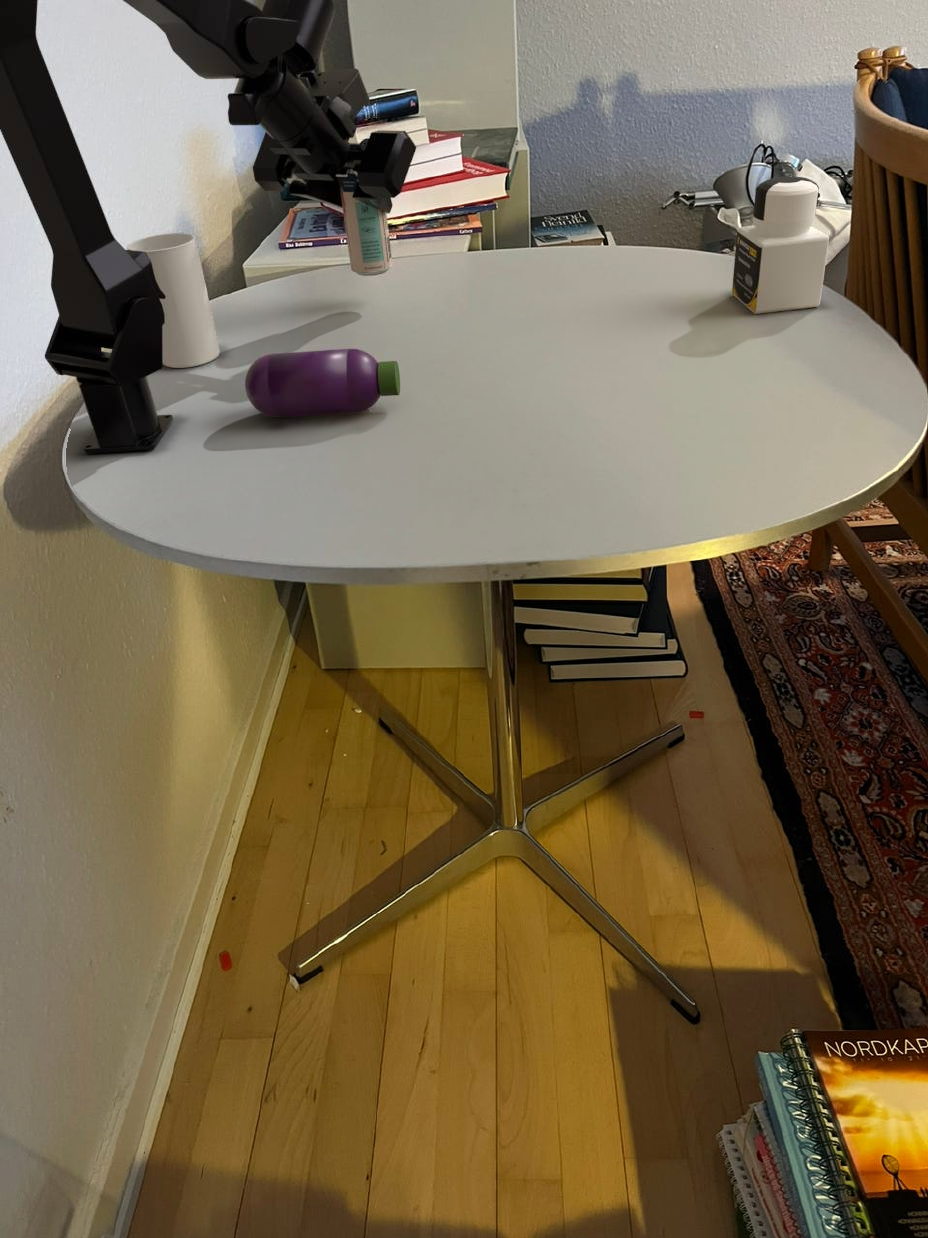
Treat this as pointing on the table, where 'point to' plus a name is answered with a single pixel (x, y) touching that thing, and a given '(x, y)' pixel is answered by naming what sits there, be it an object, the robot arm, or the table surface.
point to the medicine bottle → (781, 249)
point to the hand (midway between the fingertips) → (372, 208)
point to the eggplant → (319, 382)
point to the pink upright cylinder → (364, 232)
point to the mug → (181, 299)
